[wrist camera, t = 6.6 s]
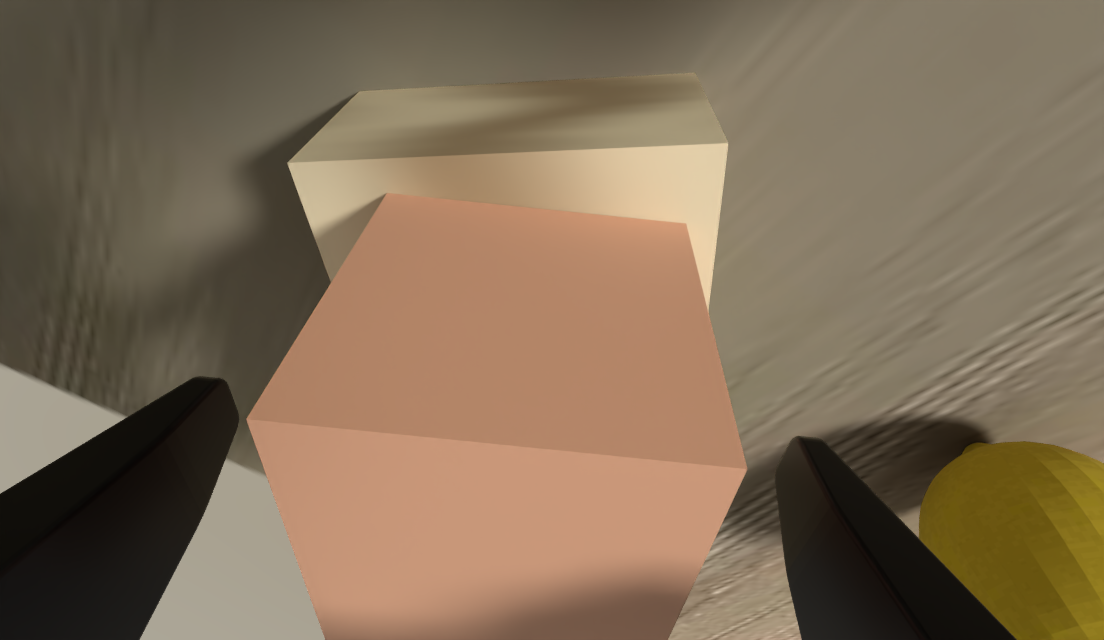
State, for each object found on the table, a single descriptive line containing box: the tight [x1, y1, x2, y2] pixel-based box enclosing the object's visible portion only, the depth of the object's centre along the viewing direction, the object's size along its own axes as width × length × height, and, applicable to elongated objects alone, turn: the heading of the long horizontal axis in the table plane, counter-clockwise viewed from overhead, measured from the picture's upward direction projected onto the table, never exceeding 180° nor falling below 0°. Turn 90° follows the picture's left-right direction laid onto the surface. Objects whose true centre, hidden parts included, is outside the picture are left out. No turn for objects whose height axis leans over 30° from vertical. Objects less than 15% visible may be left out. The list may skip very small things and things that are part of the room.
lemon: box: [919, 441, 1104, 640], centre depth 15 cm, size 6×6×8 cm
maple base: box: [287, 73, 728, 309], centre depth 13 cm, size 7×7×4 cm
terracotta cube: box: [246, 193, 747, 640], centre depth 9 cm, size 5×5×5 cm
